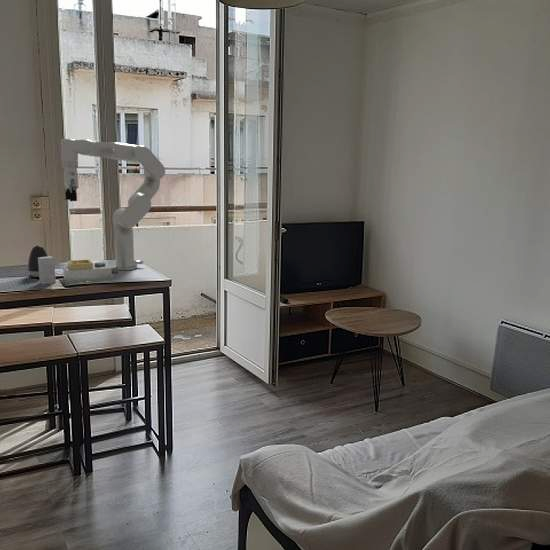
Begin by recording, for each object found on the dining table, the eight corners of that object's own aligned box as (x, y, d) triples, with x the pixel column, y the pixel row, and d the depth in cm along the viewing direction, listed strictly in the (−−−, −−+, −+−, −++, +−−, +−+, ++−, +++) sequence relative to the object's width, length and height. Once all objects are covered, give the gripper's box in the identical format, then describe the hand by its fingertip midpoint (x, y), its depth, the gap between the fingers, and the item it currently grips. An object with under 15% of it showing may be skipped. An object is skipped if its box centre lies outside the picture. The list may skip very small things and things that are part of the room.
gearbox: (114, 274, 274) (113, 257, 272) (120, 279, 262) (119, 262, 260) (63, 277, 263) (62, 260, 261) (67, 283, 251) (66, 265, 249)
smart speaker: (53, 274, 271) (51, 243, 268) (49, 278, 261) (47, 247, 258) (30, 274, 268) (28, 244, 265) (26, 279, 259) (23, 247, 255)
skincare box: (52, 281, 255) (50, 256, 253) (56, 282, 252) (54, 257, 250) (39, 282, 251) (37, 257, 249) (42, 284, 248) (40, 258, 246)
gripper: (82, 165, 260) (83, 201, 264) (74, 164, 275) (75, 199, 278) (65, 165, 256) (66, 201, 260) (58, 164, 271) (59, 199, 274)
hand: (71, 200), depth 269 cm, fingers open, 9 cm apart
